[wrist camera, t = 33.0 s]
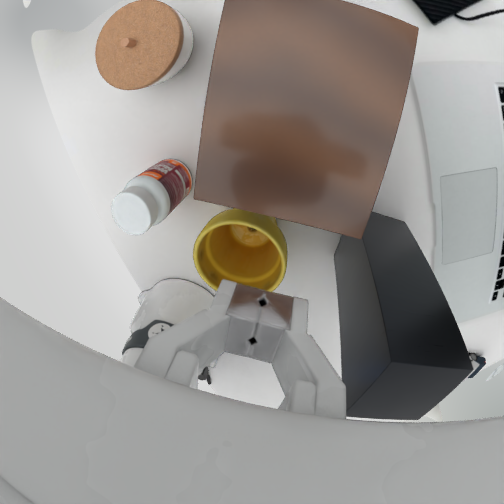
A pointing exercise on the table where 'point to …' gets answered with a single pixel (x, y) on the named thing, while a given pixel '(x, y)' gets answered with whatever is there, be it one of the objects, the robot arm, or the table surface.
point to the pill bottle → (151, 196)
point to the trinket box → (143, 45)
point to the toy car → (476, 365)
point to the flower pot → (241, 250)
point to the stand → (394, 326)
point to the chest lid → (303, 110)
